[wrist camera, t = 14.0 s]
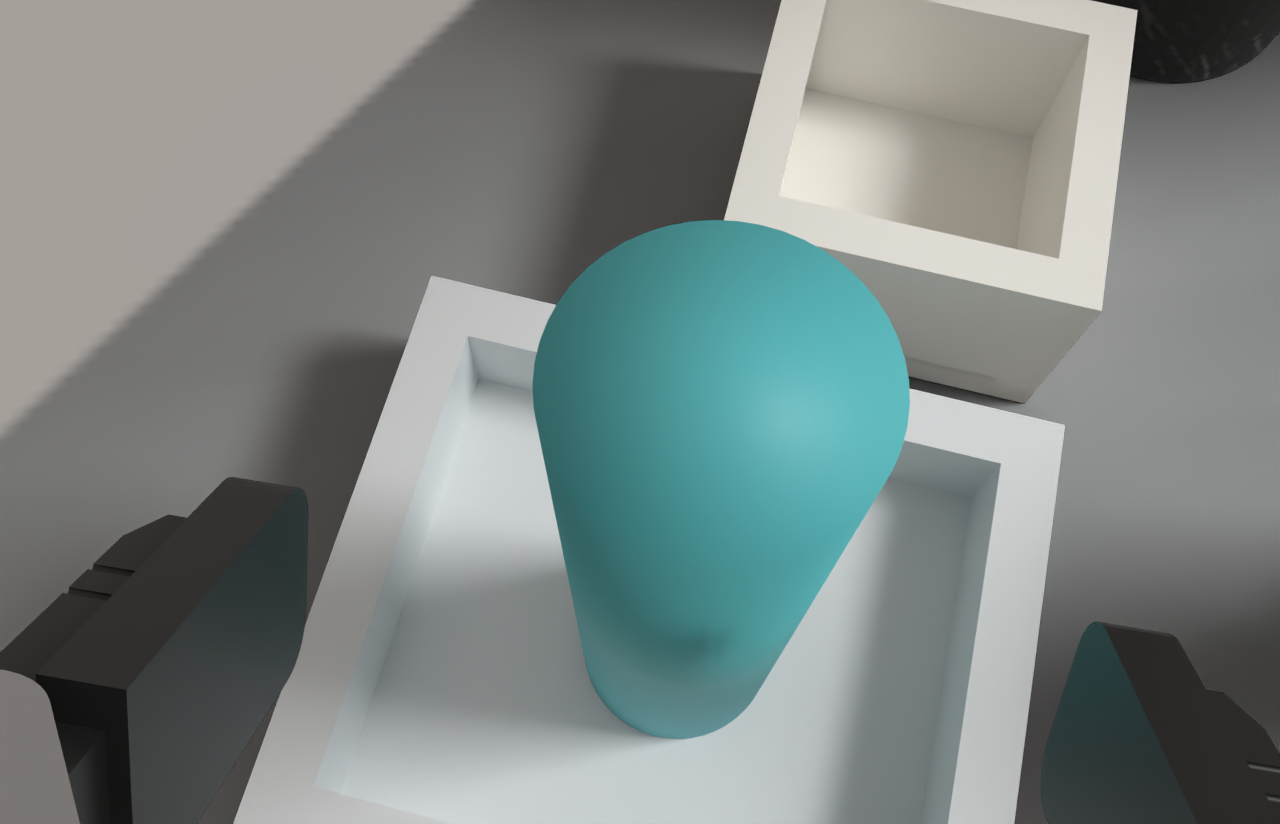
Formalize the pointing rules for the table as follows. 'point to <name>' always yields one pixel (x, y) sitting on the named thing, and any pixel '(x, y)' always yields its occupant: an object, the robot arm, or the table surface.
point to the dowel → (710, 456)
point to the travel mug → (1198, 36)
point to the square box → (950, 169)
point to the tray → (552, 651)
